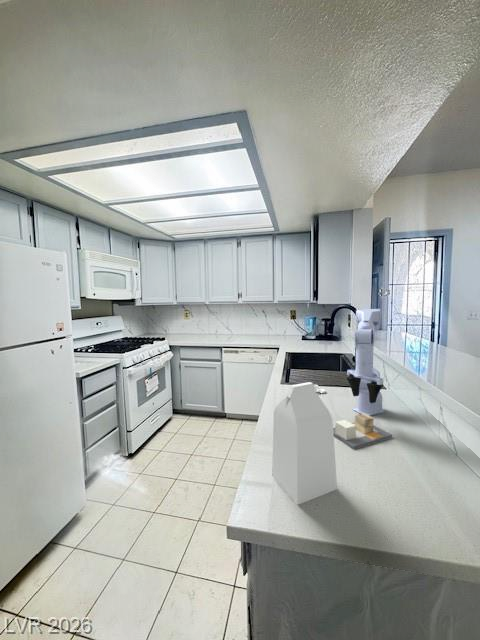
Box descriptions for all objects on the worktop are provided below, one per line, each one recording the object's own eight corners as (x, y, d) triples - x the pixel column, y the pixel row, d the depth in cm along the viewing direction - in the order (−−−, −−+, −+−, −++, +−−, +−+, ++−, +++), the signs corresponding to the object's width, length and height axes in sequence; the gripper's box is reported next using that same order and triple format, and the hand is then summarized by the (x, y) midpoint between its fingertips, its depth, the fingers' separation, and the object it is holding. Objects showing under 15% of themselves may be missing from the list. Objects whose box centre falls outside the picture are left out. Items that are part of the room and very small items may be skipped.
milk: (297, 504, 62) (295, 395, 60) (272, 475, 72) (270, 381, 71) (337, 489, 67) (337, 387, 65) (308, 463, 77) (307, 375, 75)
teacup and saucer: (327, 392, 135) (327, 385, 135) (320, 397, 129) (320, 389, 129) (311, 389, 141) (311, 381, 141) (303, 393, 135) (303, 385, 135)
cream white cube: (344, 430, 93) (344, 419, 93) (355, 437, 89) (355, 425, 88) (335, 433, 92) (335, 421, 91) (346, 440, 87) (346, 428, 87)
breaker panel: (363, 422, 101) (363, 420, 101) (392, 437, 90) (392, 434, 90) (327, 432, 95) (327, 429, 95) (353, 449, 84) (353, 446, 84)
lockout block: (363, 426, 96) (364, 413, 95) (373, 431, 92) (373, 417, 92) (355, 429, 94) (355, 415, 94) (364, 434, 91) (364, 420, 90)
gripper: (341, 359, 102) (340, 394, 103) (372, 367, 88) (372, 407, 89) (355, 357, 104) (355, 392, 105) (388, 365, 91) (387, 404, 92)
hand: (364, 399), depth 97 cm, fingers open, 7 cm apart
